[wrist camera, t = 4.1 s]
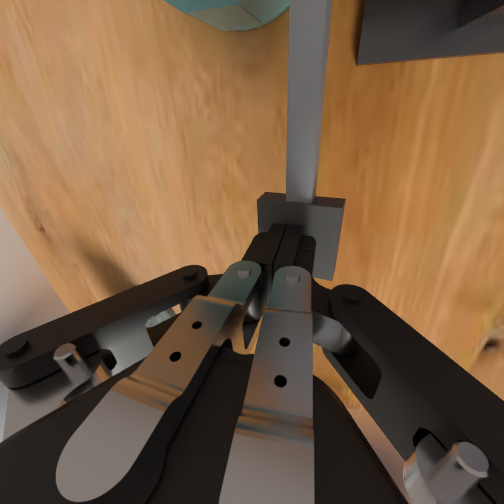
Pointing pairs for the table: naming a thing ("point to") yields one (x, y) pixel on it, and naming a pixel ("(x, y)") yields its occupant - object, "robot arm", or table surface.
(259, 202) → the chute
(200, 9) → the cup
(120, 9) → the table surface
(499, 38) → the stand
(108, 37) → the table surface
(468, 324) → the table surface
